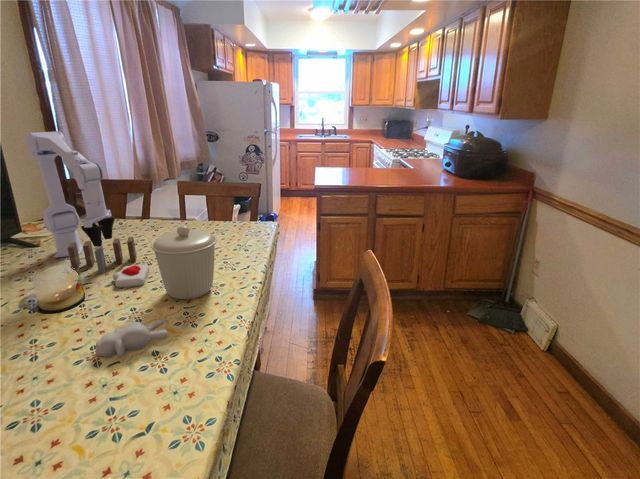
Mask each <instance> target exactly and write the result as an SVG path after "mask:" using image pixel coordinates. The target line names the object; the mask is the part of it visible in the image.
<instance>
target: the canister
mask: <svg viewBox="0 0 640 479" xmlns="http://www.w3.org/2000/svg"><path fill="white" fill-rule="evenodd" d="M217 240H218V238H217V237H216V235H215V234H212V233H210V232H208V231H206V230H201V229H190V226H187V225H184V224H183V225H179V226H178V227H177V228H176V230H173V231H169V232H166V233H164V234H162V235H160V236H158V237H156V238H155V239H154V240H153V241H151V244H150V248H151V249H152V251H154V254H155V259H156V262H157V266H158V269H159V273H160V276H161V279H162V283H163V286H164V290H165V291H166V293H167V294H168V295H169V296H170V297H172V298H174V299H177V300H182V301H183V300H186V301H187V300H193V299H197V298H200V297H202V296H204V295H205V294H207V293H208V292H210V291H211V289H212V288H213V284H214V274H215V273H214V271H215V249H216V248H215V245H216V244H217Z"/></svg>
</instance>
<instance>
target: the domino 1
mask: <svg viewBox="0 0 640 479" xmlns="http://www.w3.org/2000/svg"><path fill="white" fill-rule="evenodd" d="M67 249H68V253H69V256H68V257H69V261H70V265H71V268H72V267H73V268H75V269H74V270H78V269H79V267H80V265H81V260H80V255H79V254H78V249H77V245H76V242H73V243H70V244H69V246H68V247H67Z"/></svg>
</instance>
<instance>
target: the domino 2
mask: <svg viewBox="0 0 640 479" xmlns="http://www.w3.org/2000/svg"><path fill="white" fill-rule="evenodd" d="M82 245H83V249H82V251H83V253H84V259H85V264H86V266H87V269H88V268H93V267H94V265H95V263H96V258H95V255H94V254H95V253H94V250H93V246H92V245H93V244H92V242H91V240H86V241H84V243H83V244H82Z"/></svg>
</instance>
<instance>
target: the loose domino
mask: <svg viewBox="0 0 640 479" xmlns="http://www.w3.org/2000/svg"><path fill="white" fill-rule="evenodd" d="M94 254H95V255H94V257H95V262H96V264H97V269H98V274H99V275H101V274H102V275H103V274H106V270H107V267H108V266H107V263H106V262H107V261H106V257H105V252H104V247H103V245H102V246H99V247H95V250H94Z"/></svg>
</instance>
